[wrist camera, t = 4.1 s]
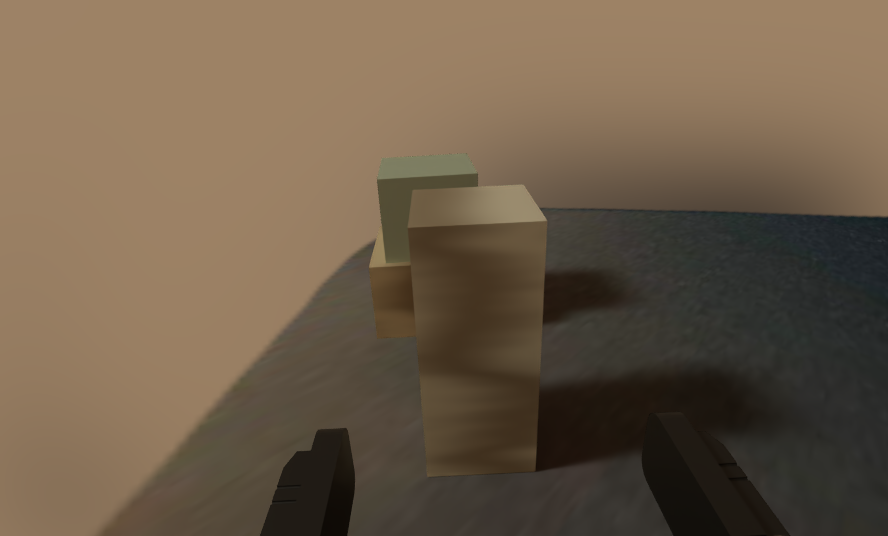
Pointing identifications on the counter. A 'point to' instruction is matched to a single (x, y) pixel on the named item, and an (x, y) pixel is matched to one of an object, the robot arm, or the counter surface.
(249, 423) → the counter surface
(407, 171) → the sage block
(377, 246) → the oak block
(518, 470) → the birch pillar
